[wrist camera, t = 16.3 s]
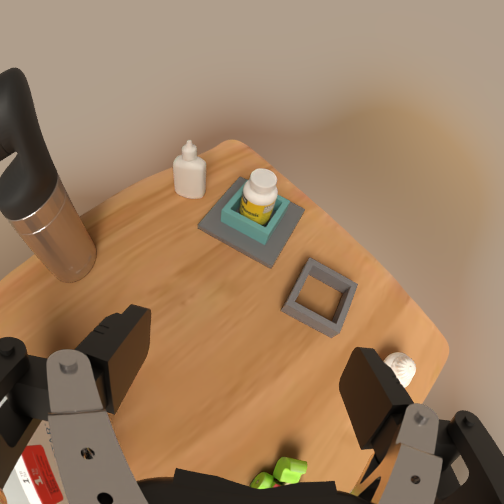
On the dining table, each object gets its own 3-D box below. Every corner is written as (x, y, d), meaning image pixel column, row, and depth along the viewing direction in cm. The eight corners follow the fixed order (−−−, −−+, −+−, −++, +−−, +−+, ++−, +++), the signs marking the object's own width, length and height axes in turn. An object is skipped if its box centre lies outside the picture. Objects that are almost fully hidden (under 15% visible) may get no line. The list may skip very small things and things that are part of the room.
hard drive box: (121, 482, 24) (57, 531, 7) (78, 485, 22) (1, 518, 5) (86, 383, 31) (-1, 357, 14) (46, 390, 29) (-45, 365, 12)
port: (197, 228, 47) (197, 213, 43) (239, 180, 54) (241, 165, 50) (271, 268, 45) (276, 256, 41) (303, 212, 52) (309, 198, 48)
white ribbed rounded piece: (382, 349, 40) (407, 338, 34) (405, 370, 38) (431, 362, 32) (363, 378, 37) (388, 372, 31) (387, 399, 36) (414, 396, 30)
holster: (280, 310, 41) (285, 304, 39) (304, 266, 46) (309, 257, 43) (331, 337, 40) (339, 332, 38) (349, 291, 45) (357, 284, 42)
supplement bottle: (231, 214, 48) (238, 173, 39) (255, 200, 50) (264, 160, 42) (252, 235, 46) (263, 196, 38) (275, 219, 49) (289, 181, 40)
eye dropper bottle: (189, 178, 52) (188, 128, 42) (209, 193, 51) (211, 143, 41) (172, 190, 50) (167, 139, 40) (191, 206, 49) (190, 155, 39)
